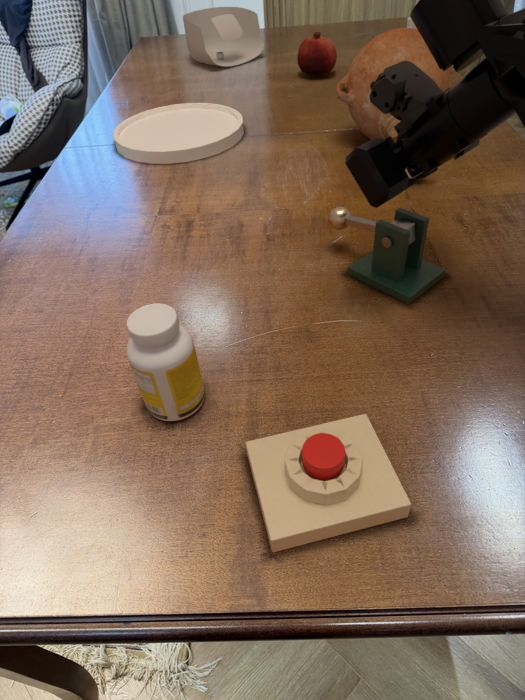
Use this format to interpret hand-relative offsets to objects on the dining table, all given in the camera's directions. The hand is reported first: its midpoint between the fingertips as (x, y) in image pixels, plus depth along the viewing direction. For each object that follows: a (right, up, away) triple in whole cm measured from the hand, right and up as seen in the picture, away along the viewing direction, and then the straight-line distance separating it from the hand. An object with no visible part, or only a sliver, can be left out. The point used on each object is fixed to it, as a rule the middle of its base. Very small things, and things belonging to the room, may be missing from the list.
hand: (370, 185), depth 63 cm
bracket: (+4, -11, +5) cm, 12 cm away
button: (-8, -30, -20) cm, 37 cm away
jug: (+11, +17, +33) cm, 39 cm away
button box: (-8, -33, -17) cm, 38 cm away
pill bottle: (-23, -26, -9) cm, 36 cm away
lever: (+1, -5, +5) cm, 7 cm away
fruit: (+1, +53, +72) cm, 89 cm away
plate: (-31, +26, +47) cm, 62 cm away
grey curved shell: (-26, +67, +90) cm, 115 cm away
